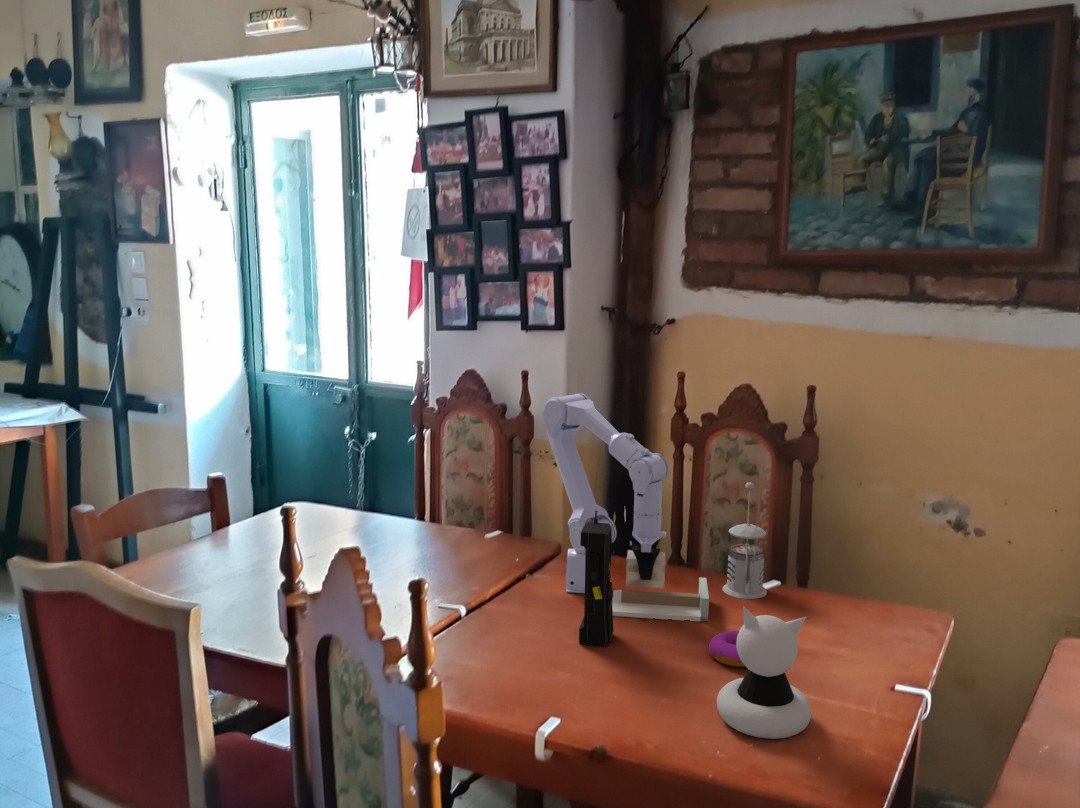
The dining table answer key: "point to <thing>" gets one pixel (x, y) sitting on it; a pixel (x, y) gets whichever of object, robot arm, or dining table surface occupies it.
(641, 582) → the saddle block
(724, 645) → the donut
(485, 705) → the dining table surface
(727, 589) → the french press
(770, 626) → the decorative figurine
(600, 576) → the portable radio
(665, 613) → the board
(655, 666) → the dining table surface
